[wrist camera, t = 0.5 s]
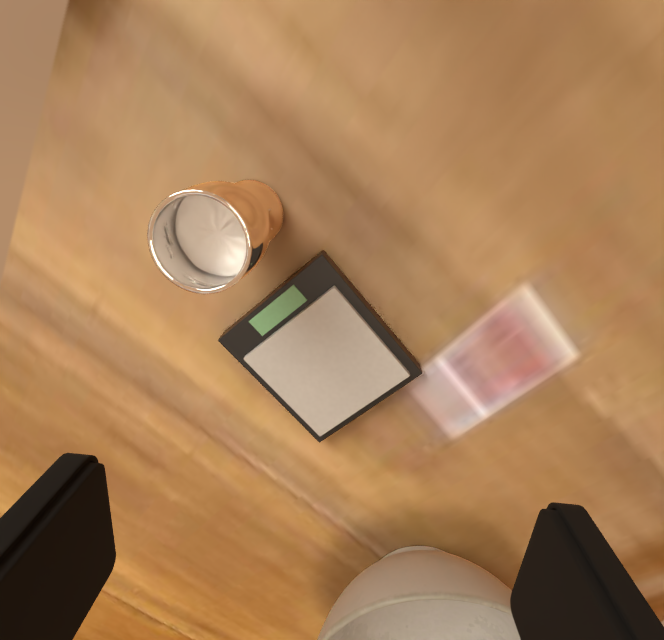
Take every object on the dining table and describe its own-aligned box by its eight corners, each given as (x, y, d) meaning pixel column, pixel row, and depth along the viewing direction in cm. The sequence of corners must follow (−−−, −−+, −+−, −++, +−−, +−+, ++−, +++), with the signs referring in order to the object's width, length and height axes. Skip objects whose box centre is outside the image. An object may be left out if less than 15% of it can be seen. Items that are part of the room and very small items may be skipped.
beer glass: (237, 260, 42) (181, 313, 28) (201, 194, 40) (121, 215, 26) (300, 231, 41) (274, 272, 27) (267, 161, 39) (219, 165, 25)
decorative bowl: (533, 628, 60) (575, 739, 48) (349, 655, 63) (349, 763, 52) (503, 482, 51) (546, 576, 39) (291, 524, 54) (275, 620, 43)
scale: (223, 332, 45) (215, 343, 42) (323, 249, 41) (321, 256, 39) (320, 431, 49) (318, 447, 47) (420, 364, 45) (424, 377, 43)
